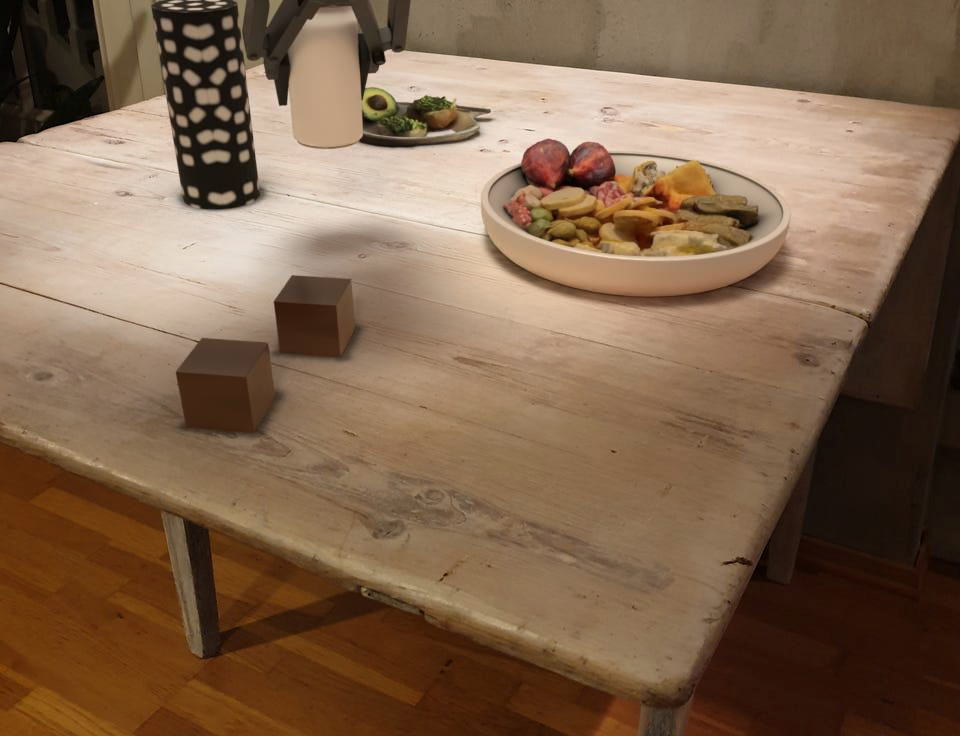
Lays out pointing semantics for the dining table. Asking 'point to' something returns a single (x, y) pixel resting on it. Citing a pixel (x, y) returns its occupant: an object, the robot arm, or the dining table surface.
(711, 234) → the bowl
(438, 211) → the dining table surface
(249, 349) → the near block
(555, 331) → the dining table surface
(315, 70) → the can
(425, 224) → the dining table surface
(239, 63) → the spotted tube
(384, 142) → the salad plate
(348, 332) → the far block
